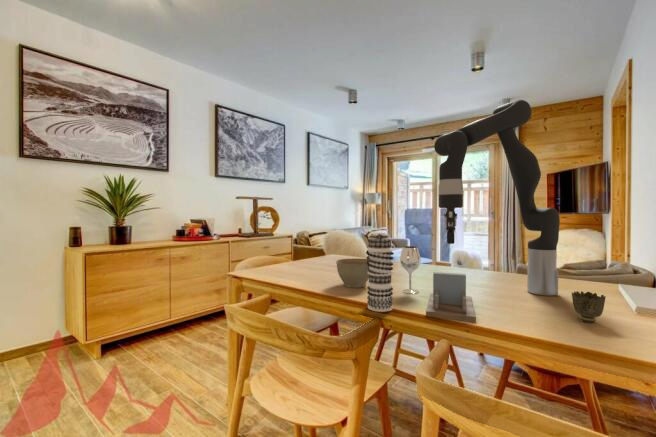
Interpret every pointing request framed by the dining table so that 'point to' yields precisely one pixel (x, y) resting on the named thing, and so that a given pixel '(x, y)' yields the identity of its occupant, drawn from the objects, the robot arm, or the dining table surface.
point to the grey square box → (449, 287)
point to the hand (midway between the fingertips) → (450, 242)
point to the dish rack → (451, 309)
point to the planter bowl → (353, 272)
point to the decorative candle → (379, 272)
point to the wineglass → (410, 264)
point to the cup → (588, 305)
